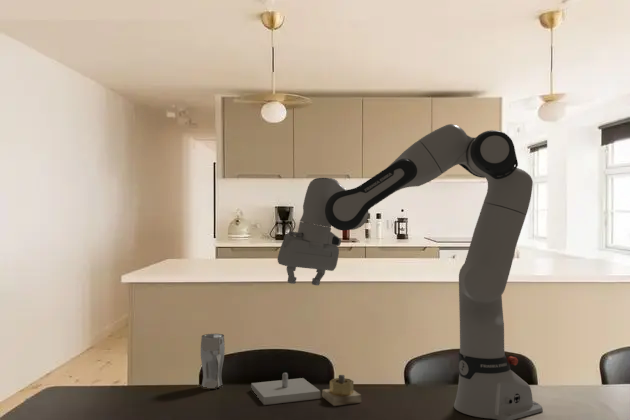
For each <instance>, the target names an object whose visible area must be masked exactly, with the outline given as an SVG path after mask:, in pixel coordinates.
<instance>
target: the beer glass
mask: <svg viewBox="0 0 630 420" xmlns="http://www.w3.org/2000/svg"><path fill="white" fill-rule="evenodd" d="M200 339H201V340H200V359H201V366H202V367H201V369H202V380H201V381H202V382H201V387H202V386H203V387H207V388H215V387H219V386H221V385H223V380H222V370H223V364H224V360H225V353H226V352H225V351H226V350H225V348H226V347H225V344H226V343H225V335H224V334H221V333H206V334H205V333H204V334H203V335H201V338H200Z"/></svg>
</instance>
